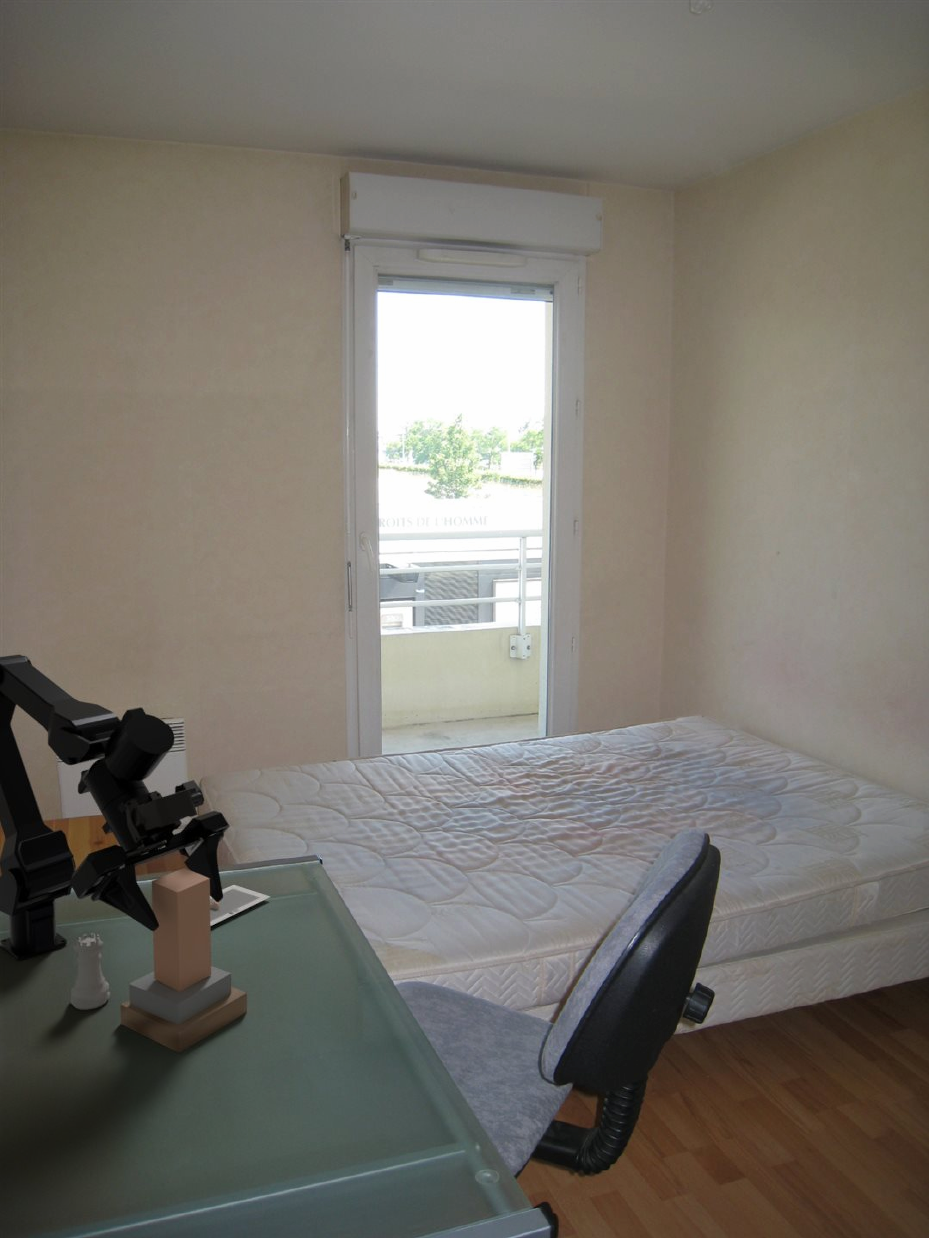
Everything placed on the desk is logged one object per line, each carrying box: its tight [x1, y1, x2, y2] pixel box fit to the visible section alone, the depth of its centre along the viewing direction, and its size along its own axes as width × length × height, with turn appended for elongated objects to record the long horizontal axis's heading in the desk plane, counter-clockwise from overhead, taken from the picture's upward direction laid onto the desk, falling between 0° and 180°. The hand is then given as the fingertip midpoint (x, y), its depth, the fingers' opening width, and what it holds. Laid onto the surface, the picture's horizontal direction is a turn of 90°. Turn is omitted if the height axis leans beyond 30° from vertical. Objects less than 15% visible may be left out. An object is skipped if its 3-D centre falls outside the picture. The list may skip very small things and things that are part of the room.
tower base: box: [119, 986, 248, 1054], centre depth 108 cm, size 10×10×3 cm
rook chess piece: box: [70, 933, 111, 1011], centre depth 111 cm, size 4×4×8 cm
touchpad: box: [210, 884, 271, 927], centre depth 136 cm, size 8×15×2 cm, turn 148°
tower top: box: [128, 965, 232, 1025], centre depth 108 cm, size 8×8×2 cm
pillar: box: [151, 867, 212, 992], centre depth 107 cm, size 4×4×12 cm
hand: (189, 913), depth 106 cm, fingers open, 9 cm apart
